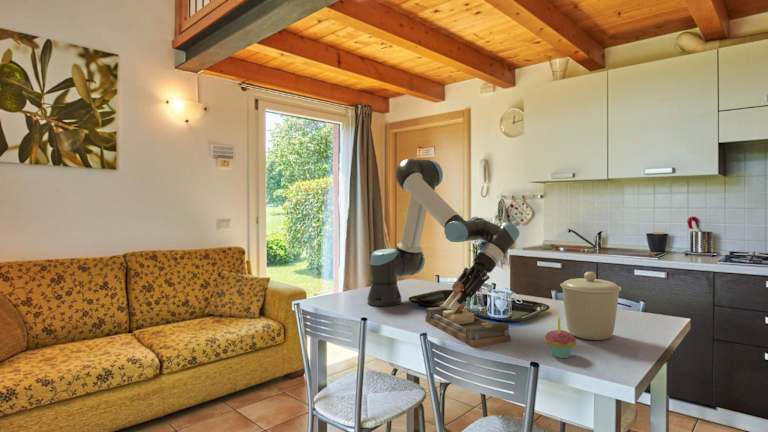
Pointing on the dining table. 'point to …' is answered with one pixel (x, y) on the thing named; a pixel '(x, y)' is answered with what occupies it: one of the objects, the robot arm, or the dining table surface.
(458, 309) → the carriage
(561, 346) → the cupcake
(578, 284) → the canister
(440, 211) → the robot arm
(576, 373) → the dining table surface
